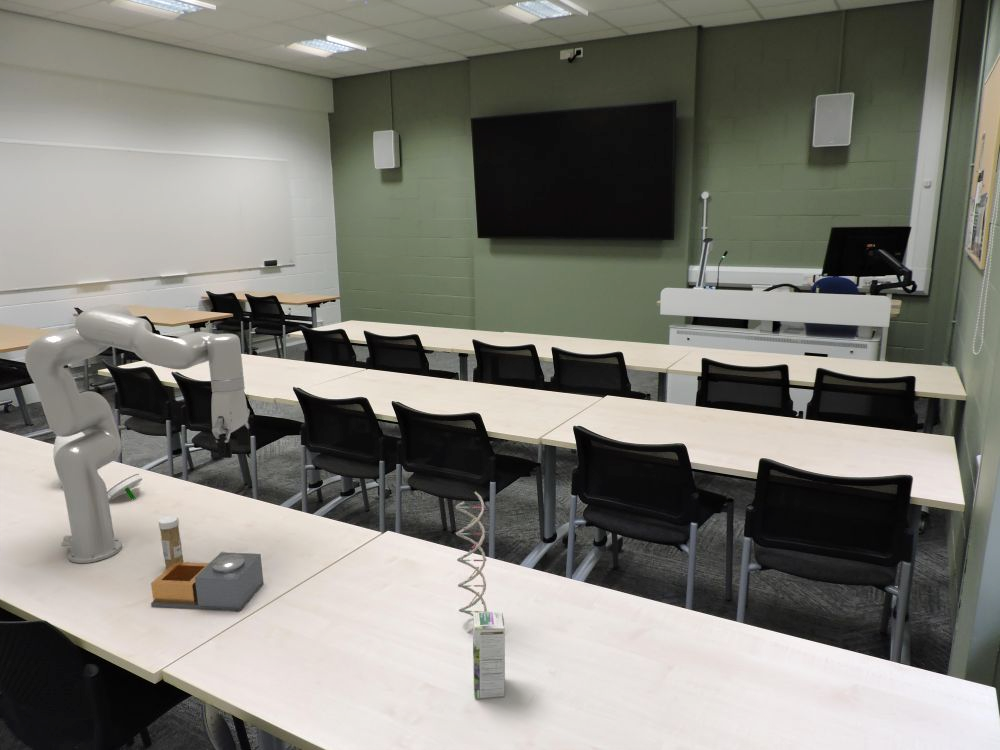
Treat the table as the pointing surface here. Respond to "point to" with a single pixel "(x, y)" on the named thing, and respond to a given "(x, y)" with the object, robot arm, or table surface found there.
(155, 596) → the grey orange box device
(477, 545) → the dna model
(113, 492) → the tabbed white plastic disc
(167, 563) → the spice jar
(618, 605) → the table surface
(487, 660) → the syrup box
